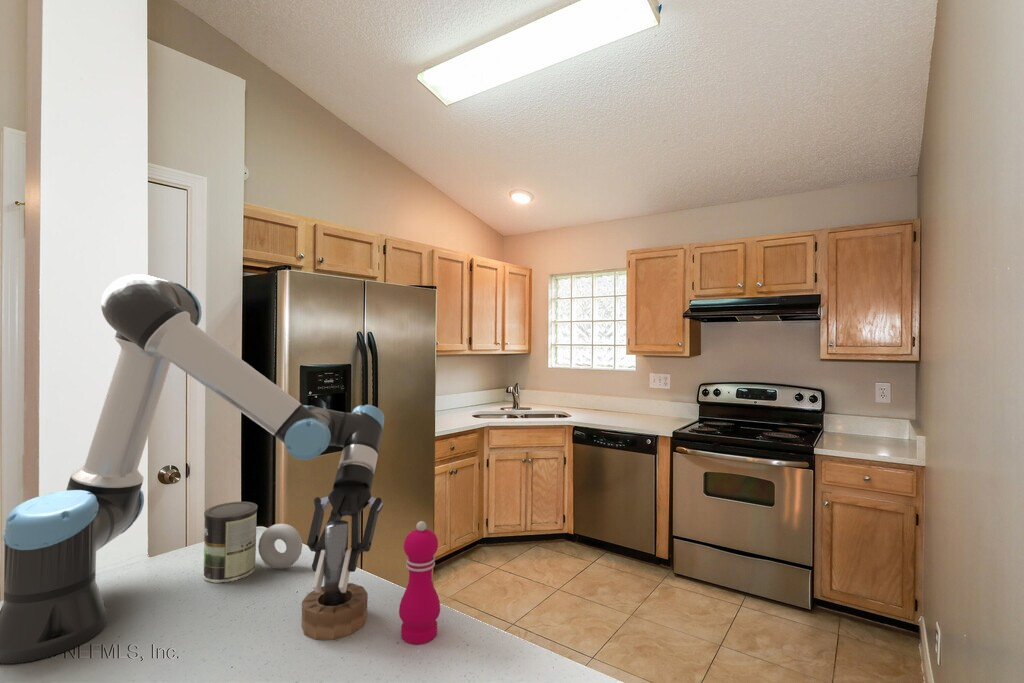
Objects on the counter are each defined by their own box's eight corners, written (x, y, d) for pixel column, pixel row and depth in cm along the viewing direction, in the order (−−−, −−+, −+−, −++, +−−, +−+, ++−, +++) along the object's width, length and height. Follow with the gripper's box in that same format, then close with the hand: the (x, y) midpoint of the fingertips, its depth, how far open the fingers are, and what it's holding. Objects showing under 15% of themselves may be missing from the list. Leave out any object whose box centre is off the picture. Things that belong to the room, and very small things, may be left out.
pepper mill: (399, 649, 84) (401, 530, 84) (397, 625, 91) (399, 516, 91) (442, 643, 86) (444, 527, 86) (437, 620, 93) (439, 513, 93)
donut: (304, 566, 114) (305, 522, 114) (296, 573, 111) (297, 528, 111) (263, 563, 115) (264, 520, 115) (254, 570, 112) (255, 525, 112)
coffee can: (196, 586, 104) (198, 518, 104) (210, 564, 114) (211, 503, 114) (251, 580, 107) (252, 514, 107) (260, 559, 117) (261, 499, 117)
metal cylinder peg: (320, 616, 90) (322, 528, 90) (327, 605, 94) (329, 520, 94) (342, 616, 90) (344, 528, 90) (349, 605, 94) (350, 520, 94)
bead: (292, 639, 86) (293, 613, 86) (315, 606, 97) (315, 583, 97) (357, 639, 87) (357, 613, 87) (372, 606, 98) (372, 583, 98)
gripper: (398, 481, 108) (380, 597, 91) (319, 480, 107) (286, 597, 90) (394, 462, 102) (374, 582, 86) (310, 461, 102) (273, 582, 85)
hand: (329, 589), depth 88 cm, fingers closed on metal cylinder peg, 4 cm apart
